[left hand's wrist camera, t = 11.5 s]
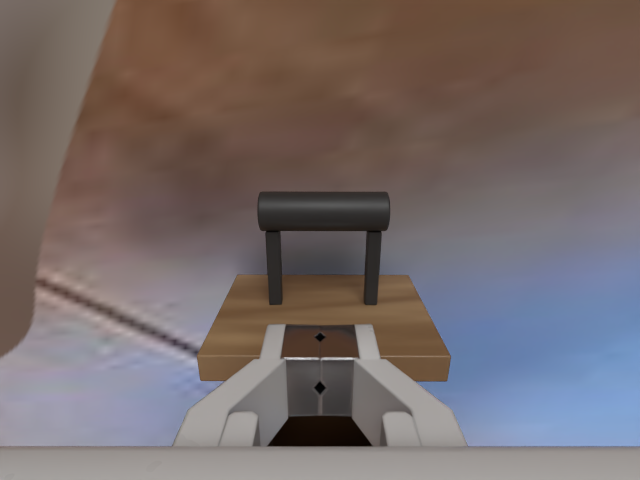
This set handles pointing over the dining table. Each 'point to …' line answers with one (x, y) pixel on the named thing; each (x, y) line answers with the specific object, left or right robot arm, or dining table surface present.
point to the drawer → (324, 305)
